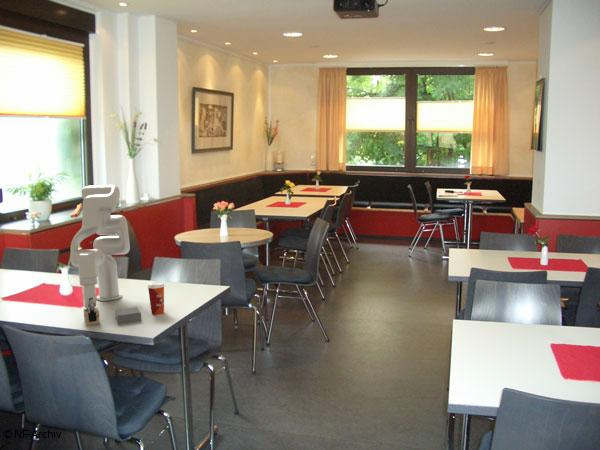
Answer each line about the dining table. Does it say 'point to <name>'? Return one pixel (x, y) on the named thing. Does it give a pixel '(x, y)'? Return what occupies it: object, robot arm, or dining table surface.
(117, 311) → the slate pedestal
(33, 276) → the dining table surface
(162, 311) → the paper cup
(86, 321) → the oak cube
